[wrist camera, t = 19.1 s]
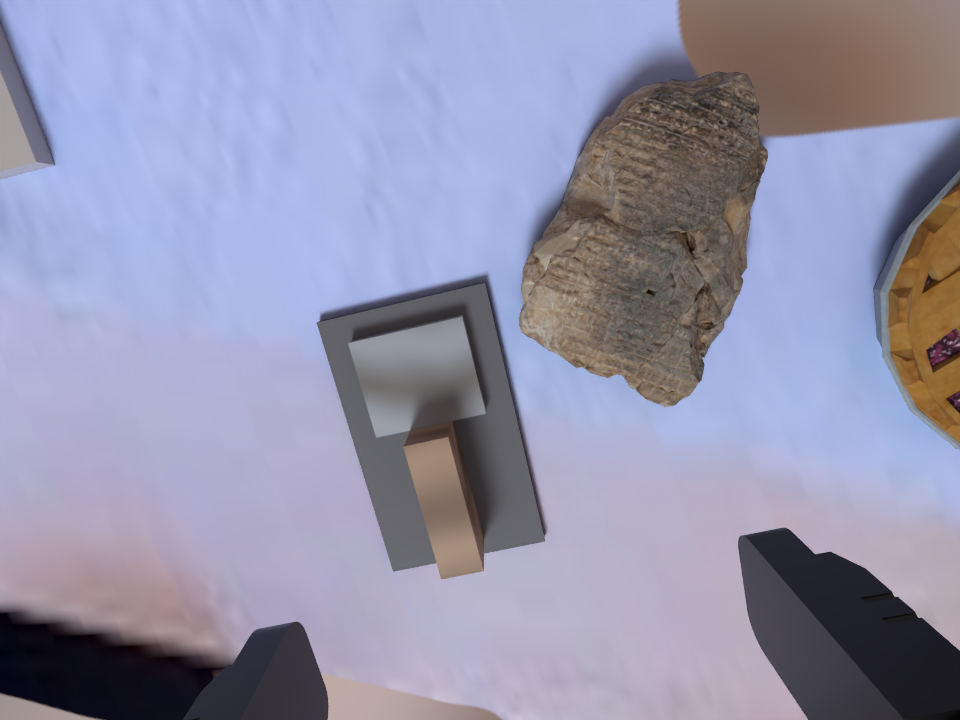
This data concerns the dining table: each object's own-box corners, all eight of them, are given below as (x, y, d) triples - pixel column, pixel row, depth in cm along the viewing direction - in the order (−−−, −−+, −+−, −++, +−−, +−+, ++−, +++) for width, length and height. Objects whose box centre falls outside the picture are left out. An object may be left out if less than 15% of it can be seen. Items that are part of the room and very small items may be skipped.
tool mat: (319, 321, 37) (316, 322, 36) (485, 282, 36) (485, 283, 35) (394, 566, 41) (393, 571, 40) (544, 536, 40) (545, 541, 40)
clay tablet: (616, 41, 33) (492, 331, 37) (640, 6, 28) (495, 344, 32) (809, 133, 34) (670, 403, 38) (863, 114, 29) (698, 426, 33)
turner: (351, 340, 36) (335, 352, 32) (462, 314, 36) (459, 323, 32) (414, 552, 40) (406, 586, 36) (516, 531, 39) (519, 563, 36)
